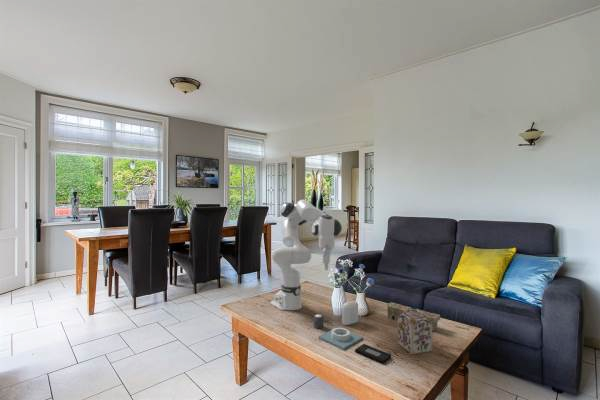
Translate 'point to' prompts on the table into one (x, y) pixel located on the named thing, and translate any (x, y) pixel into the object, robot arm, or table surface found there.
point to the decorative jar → (414, 331)
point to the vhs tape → (373, 353)
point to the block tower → (397, 309)
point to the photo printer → (350, 313)
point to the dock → (340, 343)
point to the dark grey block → (318, 321)
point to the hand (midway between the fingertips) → (326, 268)
